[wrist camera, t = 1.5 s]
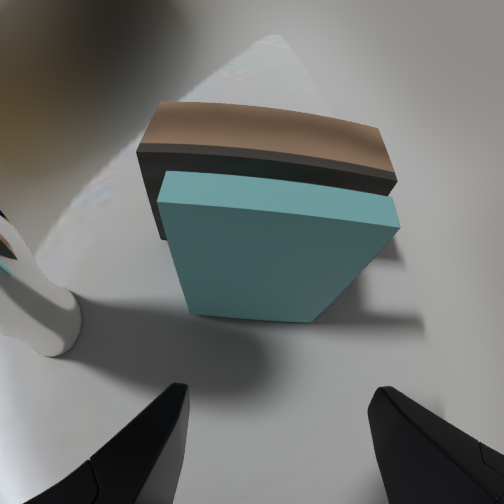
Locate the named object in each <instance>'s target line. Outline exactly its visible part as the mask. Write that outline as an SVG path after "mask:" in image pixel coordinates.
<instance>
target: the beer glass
mask: <svg viewBox="0 0 504 504" xmlns="http://www.w3.org/2000/svg"><path fill="white" fill-rule="evenodd" d="M81 321H82V317H81V310H80V306H79V304H78V302H77V300H76V298H75V297H74V295H73V294H72V293H71V292H70V291H68V290H67V289H65V288H63V287H61V286H59V285H57V284H55V283H53V282H51V281H50V280H49V279H48V278H47V277H46V276H45V274H44V273H43V271H42V270H41V268H40V267H39V265H38V264H37V262H36V260H35V259H34V257H33V255H32V254H31V252H30V251H29V249H28V247H27V245H26V244H25V242H24V241H23V239H22V238H21V236H20V235H19V233H18V231H17V230H16V229H15V227H14V226H13V225H12V224H11V222H10V221H9V219H8V218H7V217H6V216H5V214H4V213H3V212H2V211H1V210H0V336H5V337H11V338H15V339H19V340H21V341H23V342H25V343H26V344H27V345H29V346H30V347H31V348H32V349H34V350H35V351H36V352H38V353H39V354H42V355H44V356H49V357H54V356H59V355H61V354H63V353H65V352H66V351H68V350H69V349H70V348H71V347H72V346H73V344H74V343H75V341H76V339H77V337H78V335H79V332H80V328H81Z"/></svg>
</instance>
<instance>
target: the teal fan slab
mask: <svg viewBox="0 0 504 504" xmlns="http://www.w3.org/2000/svg"><path fill="white" fill-rule="evenodd" d="M157 205H158V208H159V212H160V216H161V220H162V223H163V227H164V230H165V234H166V238H167V241H168V244H169V248H170V251H171V255H172V258H173V261H174V265H175V268H176V271H177V274H178V278H179V281H180V284H181V287H182V290H183V293H184V296H185V299H186V302H187V305H188V308H189V311H190V314H198V315H208V316H218V317H229V318H241V319H254V320H269V321H286V322H307V323H311V322H312V321H313V320H314V319H316V318H317V317H318V316H319V315H320V314H321V313H322V312H323V311H324V310H325V309H326V308H327V307H328V306H329V305H330V304H331V303H332V302H333V301H334V300H335V299H336V298H337V297H338V296H339V295H340V294H341V293H342V292H343V290H344V289H345V288H346V287H347V286H348V285H349V284H350V283H351V282H352V281H353V280H354V279H355V278H356V277H357V276H358V275H359V274H360V273H361V272H362V270H363V269H364V268H365V267H366V266H367V265H368V264H369V263H370V262H371V261H372V260H373V258H374V257H375V256H376V255H377V254H378V253H379V252H380V251H381V250H382V248H383V247H384V246H385V245H386V244H387V243H388V242H389V240H390V239H391V238H392V237H393V236H394V235H395V234H396V232H397V231H398V230H399V229H400V224H399V221H398V216H397V213H396V209H395V205H394V202H393V198H392V197H387V196H382V195H377V194H371V193H365V192H359V191H354V190H347V189H341V188H335V187H328V186H321V185H314V184H307V183H299V182H291V181H283V180H275V179H266V178H256V177H246V176H235V175H224V174H211V173H197V172H180V171H166V173H165V177H164V180H163V183H162V186H161V189H160V193H159V196H158V200H157Z"/></svg>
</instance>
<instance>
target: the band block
mask: <svg viewBox="0 0 504 504" xmlns="http://www.w3.org/2000/svg"><path fill="white" fill-rule="evenodd" d="M136 153H137V157H138V161H139V165H140V169H141V173H142V177H143V180H144V184H145V188H146V191H147V195H148V198H149V202H150V205H151V209H152V212H153V215H154V219H155V222H156V225H157V228H158V232H159V235H160V238H161V239H162V240H167V238H166V234H165V230H164V227H163V223H162V220H161V216H160V212H159V208H158V205H157V200H158V196H159V193H160V189H161V186H162V183H163V180H164V177H165V173H166V171H180V172H197V173H211V174H224V175H235V176H246V177H256V178H266V179H275V180H283V181H291V182H299V183H307V184H314V185H321V186H328V187H335V188H341V189H347V190H354V191H359V192H365V193H371V194H377V195H382V196H387V197H388V195H389V194H390V191H392V189H393V188H394V186H395V184H396V183H397V178H396V175H395V172H394V169H393V166H392V163H391V161H390V158H389V155H388V153H387V150H386V147H385V145H384V142H383V140H382V137H381V135H380V132H379V130H378V128H374V127H370V126H367V125H362V124H358V123H354V122H349V121H345V120H340V119H335V118H330V117H325V116H319V115H314V114H308V113H302V112H295V111H289V110H282V109H274V108H266V107H257V106H247V105H235V104H221V103H202V102H160V104H159V106H158V107H157V110H156V111H155V113H154V115H153V117H152V119H151V121H150V123H149V125H148V127H147V129H146V131H145V134H144V136H143V138H142V140H141V142H140V144H139V146H138V149H137V151H136Z"/></svg>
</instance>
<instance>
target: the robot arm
mask: <svg viewBox="0 0 504 504" xmlns="http://www.w3.org/2000/svg"><path fill="white" fill-rule="evenodd" d="M189 411H190V401H189V386H188V385H187V384H184V383H176V382H174V383H172V384H170V385H169V386H168V387H167V388H166V389H165V390H164V391H163V392H162V393H161V394H160V395H159V396H158V397H157V398H156V399H154V400H153V401H152V402H151V403H150V404H149V405H148V406H147V407H146V408H145V409H144V410H143V411H142V412H140V413H139V414H138V415H137V416H136V417H135V418H134V419H133V420H132V421H131V422H129V423H128V424H127V425H126V426H125V427H124V428H123V429H122V430H121V431H119V432H118V433H117V434H116V435H115V436H114V437H113V438H112V439H111V440H109V441H108V442H107V443H106V444H105V445H104V446H103V447H101V448H100V449H99V450H98V451H97V452H96V453H95V454H93V455H92V456H91V457H90V460H86V461H85V462H84V463H83V464H82V465H80V466H79V467H78V468H77V469H76V470H74V471H73V472H72V473H70V474H69V475H68V476H67V477H65V478H64V479H63V480H61V481H60V482H58V483H57V484H55V485H54V486H52V487H50V488H49V489H47V490H46V491H44V492H42V493H41V494H39V495H37V496H35V497H34V498H32V499H30V500H28V501H27V502H25V503H23V504H173V500H174V496H175V492H176V488H177V484H178V480H179V476H180V472H181V469H182V464H183V460H184V453H185V445H186V436H187V428H188V419H189ZM368 419H369V424H370V429H371V434H372V439H373V445H374V450H375V455H376V459H377V463H378V466H379V469H380V473H381V476H382V479H383V483H384V486H385V490H386V493H387V497H388V500H389V504H504V455H503V454H501V453H499V452H497V451H495V450H493V449H491V448H490V447H488V446H486V445H485V444H483V443H481V442H478V440H476V439H474V438H473V437H471V436H469V435H468V434H466V433H464V432H463V431H461V430H460V429H458V428H456V427H455V426H453V425H451V424H450V423H448V422H447V421H445V420H443V419H442V418H440V417H439V416H437V415H435V414H434V413H432V412H431V411H429V410H428V409H426V408H424V407H423V406H421V405H420V404H418V403H417V402H415V401H413V400H412V399H410V398H409V397H407V396H406V395H404V394H403V393H401V392H399V391H398V390H396V389H395V388H393V387H391V386H385V387H379V388H377V390H376V391H375V393H374V396H373V398H372V400H371V402H370V404H369V407H368Z"/></svg>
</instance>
